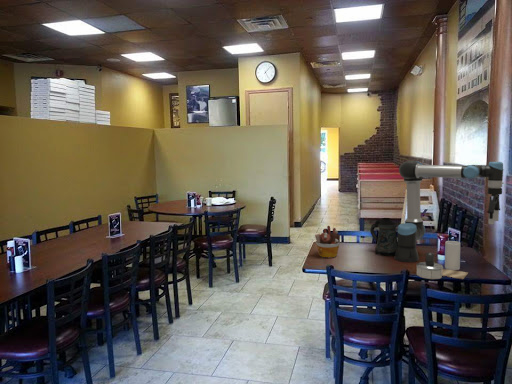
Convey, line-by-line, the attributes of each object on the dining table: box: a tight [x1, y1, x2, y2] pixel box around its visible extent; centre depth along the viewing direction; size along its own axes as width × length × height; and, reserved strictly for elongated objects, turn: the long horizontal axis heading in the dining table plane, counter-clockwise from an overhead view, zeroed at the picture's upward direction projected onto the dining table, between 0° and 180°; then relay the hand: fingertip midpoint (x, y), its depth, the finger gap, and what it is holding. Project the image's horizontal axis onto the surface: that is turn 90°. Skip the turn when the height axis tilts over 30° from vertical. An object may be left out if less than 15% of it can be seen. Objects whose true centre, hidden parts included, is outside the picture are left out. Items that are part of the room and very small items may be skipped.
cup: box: [444, 240, 461, 271], centre depth 246 cm, size 8×8×16 cm
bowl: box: [416, 266, 444, 280], centre depth 233 cm, size 13×13×5 cm
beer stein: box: [369, 217, 398, 257], centre depth 283 cm, size 16×19×25 cm
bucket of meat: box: [314, 225, 341, 258], centre depth 280 cm, size 20×16×20 cm
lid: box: [416, 252, 444, 271], centre depth 232 cm, size 14×14×8 cm
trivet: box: [443, 268, 469, 280], centre depth 235 cm, size 14×14×1 cm
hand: (493, 222), depth 246 cm, fingers open, 13 cm apart
